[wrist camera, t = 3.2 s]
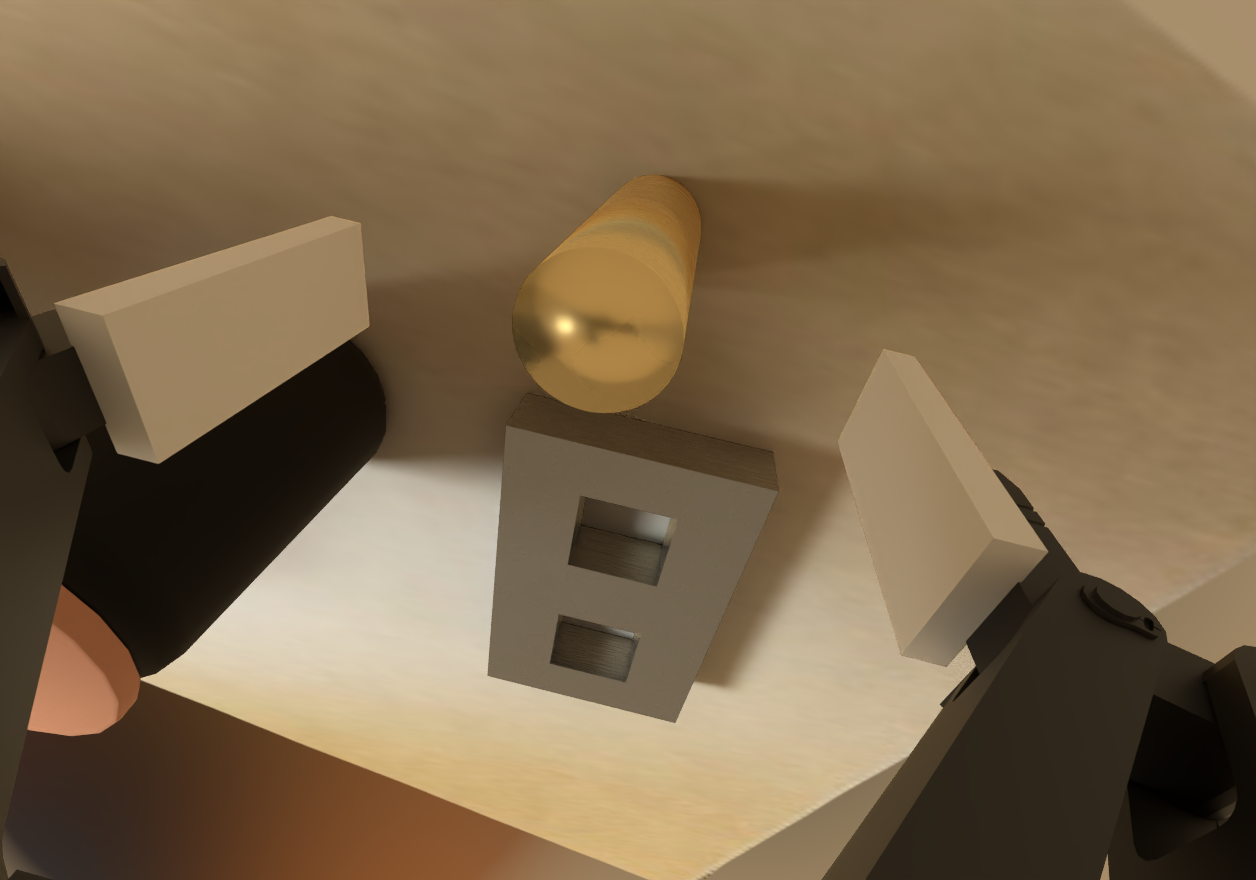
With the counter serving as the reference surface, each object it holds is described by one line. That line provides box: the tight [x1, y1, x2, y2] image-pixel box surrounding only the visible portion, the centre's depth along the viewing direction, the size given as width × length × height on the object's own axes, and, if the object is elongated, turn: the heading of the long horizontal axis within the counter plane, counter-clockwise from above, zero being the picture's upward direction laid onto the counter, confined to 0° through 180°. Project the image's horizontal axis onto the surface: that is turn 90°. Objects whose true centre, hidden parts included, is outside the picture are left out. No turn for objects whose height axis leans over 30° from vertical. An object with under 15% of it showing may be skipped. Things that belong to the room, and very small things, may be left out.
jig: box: [488, 393, 779, 723], centre depth 35 cm, size 14×22×4 cm, turn 169°
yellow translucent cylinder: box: [512, 175, 702, 413], centre depth 19 cm, size 4×4×13 cm
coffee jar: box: [28, 340, 386, 736], centre depth 25 cm, size 11×11×18 cm
